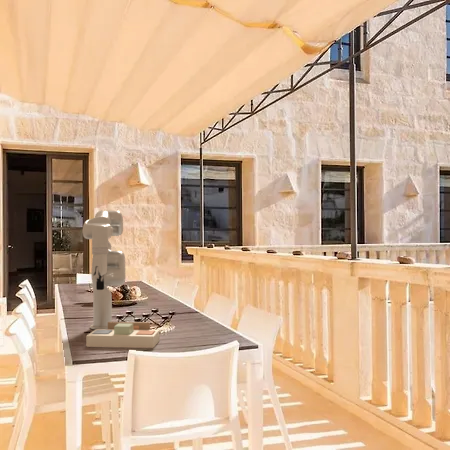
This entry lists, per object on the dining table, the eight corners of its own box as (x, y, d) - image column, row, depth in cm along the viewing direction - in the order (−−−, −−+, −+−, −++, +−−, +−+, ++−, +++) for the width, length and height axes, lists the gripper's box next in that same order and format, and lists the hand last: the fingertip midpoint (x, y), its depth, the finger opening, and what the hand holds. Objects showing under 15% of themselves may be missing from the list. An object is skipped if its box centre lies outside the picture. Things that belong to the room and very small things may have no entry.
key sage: (114, 335, 228) (114, 326, 228) (118, 332, 235) (118, 323, 235) (129, 335, 227) (129, 326, 227) (133, 332, 234) (133, 323, 234)
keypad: (86, 346, 225) (86, 328, 225) (98, 338, 241) (98, 321, 241) (153, 347, 223) (153, 329, 223) (160, 339, 240) (160, 322, 240)
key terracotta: (136, 342, 227) (136, 333, 227) (139, 339, 234) (139, 330, 234) (151, 342, 227) (151, 333, 227) (154, 339, 234) (154, 330, 234)
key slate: (92, 342, 228) (92, 333, 228) (97, 338, 235) (97, 329, 235) (107, 342, 228) (107, 333, 228) (112, 338, 235) (112, 330, 235)
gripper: (97, 249, 248) (97, 286, 249) (87, 252, 233) (87, 292, 234) (112, 249, 248) (112, 286, 249) (103, 252, 233) (103, 292, 234)
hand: (100, 289), depth 241 cm, fingers closed
